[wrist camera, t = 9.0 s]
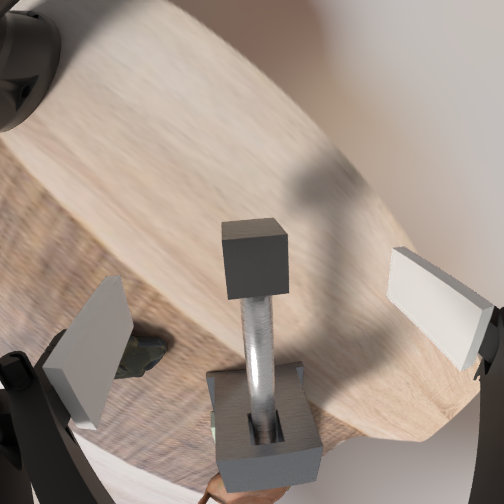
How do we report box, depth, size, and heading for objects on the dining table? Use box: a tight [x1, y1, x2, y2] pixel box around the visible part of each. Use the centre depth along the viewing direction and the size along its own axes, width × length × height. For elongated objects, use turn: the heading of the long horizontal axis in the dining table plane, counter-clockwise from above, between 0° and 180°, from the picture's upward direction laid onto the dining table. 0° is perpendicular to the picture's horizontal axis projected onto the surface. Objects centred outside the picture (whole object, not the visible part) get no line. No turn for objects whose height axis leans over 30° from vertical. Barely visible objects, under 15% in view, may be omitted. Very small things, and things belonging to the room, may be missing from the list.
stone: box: [114, 335, 167, 379], centre depth 30 cm, size 7×13×5 cm, turn 95°
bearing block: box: [206, 362, 323, 493], centre depth 30 cm, size 8×12×14 cm, turn 94°
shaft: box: [221, 218, 289, 445], centre depth 25 cm, size 27×4×5 cm, turn 4°
